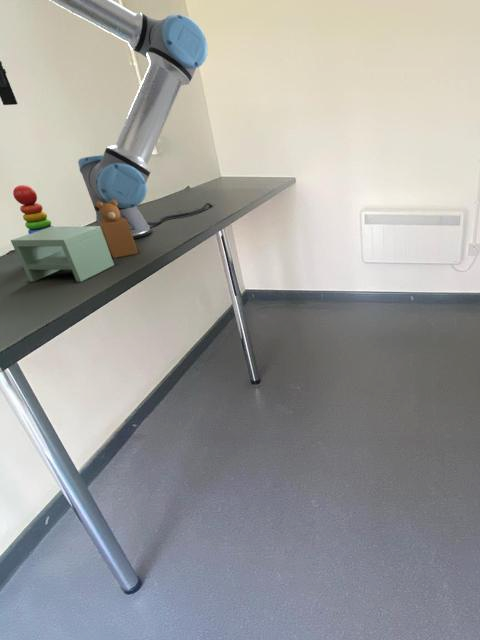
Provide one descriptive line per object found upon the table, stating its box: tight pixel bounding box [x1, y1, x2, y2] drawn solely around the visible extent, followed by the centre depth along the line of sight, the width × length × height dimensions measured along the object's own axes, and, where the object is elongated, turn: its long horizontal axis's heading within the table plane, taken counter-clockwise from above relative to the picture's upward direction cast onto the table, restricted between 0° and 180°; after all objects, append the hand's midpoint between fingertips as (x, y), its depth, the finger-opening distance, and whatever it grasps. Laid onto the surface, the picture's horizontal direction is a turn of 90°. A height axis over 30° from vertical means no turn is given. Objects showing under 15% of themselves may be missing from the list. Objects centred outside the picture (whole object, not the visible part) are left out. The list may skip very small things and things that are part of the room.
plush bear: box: [96, 200, 139, 259], centre depth 132 cm, size 6×6×14 cm
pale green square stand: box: [10, 225, 115, 283], centre depth 120 cm, size 13×14×10 cm
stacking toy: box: [12, 184, 55, 234], centre depth 133 cm, size 8×8×19 cm
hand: (10, 104), depth 117 cm, fingers open, 13 cm apart
